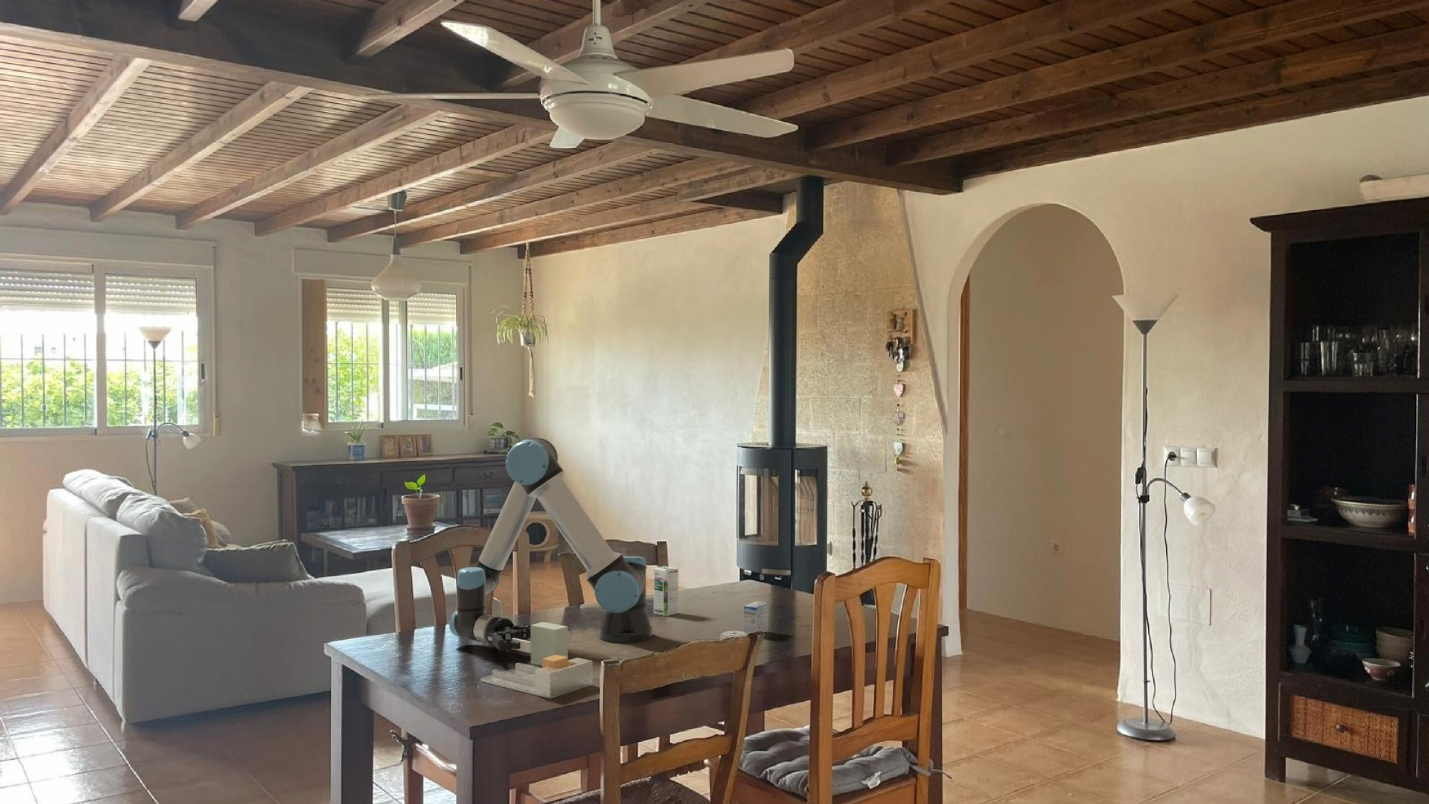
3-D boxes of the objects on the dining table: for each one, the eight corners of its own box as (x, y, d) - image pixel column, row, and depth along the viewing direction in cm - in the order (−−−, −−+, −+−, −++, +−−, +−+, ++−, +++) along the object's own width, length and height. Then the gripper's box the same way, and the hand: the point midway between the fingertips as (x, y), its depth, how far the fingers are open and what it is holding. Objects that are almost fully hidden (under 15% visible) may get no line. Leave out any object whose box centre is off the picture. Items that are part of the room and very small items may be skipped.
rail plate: (523, 668, 268) (523, 646, 268) (592, 684, 254) (592, 660, 254) (480, 681, 257) (480, 657, 257) (550, 698, 243) (550, 673, 243)
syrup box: (652, 613, 332) (652, 567, 332) (666, 610, 336) (666, 565, 336) (665, 616, 328) (665, 570, 328) (679, 613, 333) (678, 567, 332)
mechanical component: (754, 653, 284) (751, 644, 294) (754, 637, 284) (751, 628, 294) (716, 654, 284) (715, 645, 293) (716, 638, 283) (715, 629, 293)
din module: (543, 659, 277) (543, 621, 277) (567, 665, 272) (567, 626, 272) (530, 663, 274) (530, 625, 274) (555, 669, 268) (555, 629, 268)
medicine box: (755, 630, 310) (755, 600, 310) (768, 632, 308) (768, 602, 308) (743, 636, 303) (743, 605, 303) (757, 637, 301) (757, 607, 301)
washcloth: (635, 656, 282) (635, 644, 282) (685, 668, 271) (685, 656, 271) (603, 665, 273) (603, 653, 273) (653, 677, 262) (653, 665, 262)
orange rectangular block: (556, 679, 255) (556, 654, 255) (568, 682, 252) (568, 657, 252) (542, 683, 251) (542, 658, 251) (554, 686, 249) (554, 661, 249)
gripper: (529, 635, 295) (584, 646, 282) (458, 653, 275) (513, 667, 262) (529, 608, 295) (584, 618, 282) (457, 625, 275) (513, 636, 262)
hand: (550, 642), depth 272 cm, fingers open, 13 cm apart
